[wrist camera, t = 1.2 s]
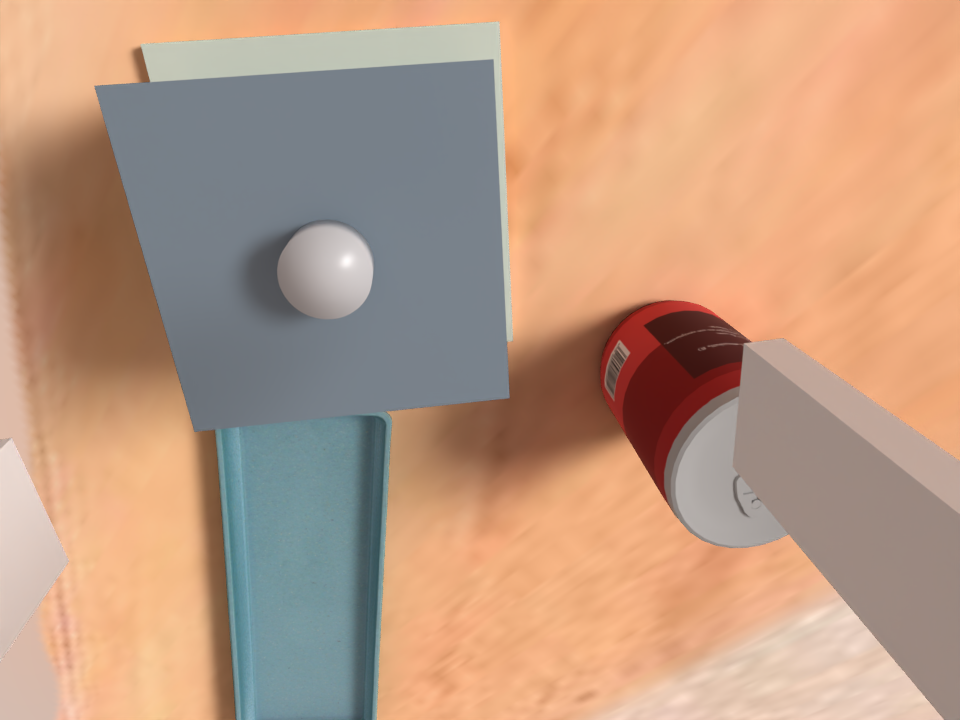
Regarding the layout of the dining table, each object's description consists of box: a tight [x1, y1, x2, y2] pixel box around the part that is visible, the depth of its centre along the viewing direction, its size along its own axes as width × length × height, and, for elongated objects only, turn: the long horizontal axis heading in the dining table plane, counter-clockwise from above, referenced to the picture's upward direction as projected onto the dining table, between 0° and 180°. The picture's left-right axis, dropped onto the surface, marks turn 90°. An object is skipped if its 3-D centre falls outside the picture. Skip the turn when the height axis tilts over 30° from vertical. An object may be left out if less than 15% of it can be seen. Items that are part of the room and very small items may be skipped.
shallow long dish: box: [215, 412, 392, 720], centre depth 39 cm, size 26×9×2 cm, turn 174°
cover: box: [94, 59, 510, 432], centre depth 25 cm, size 12×12×10 cm
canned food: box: [600, 301, 788, 548], centre depth 31 cm, size 8×8×11 cm
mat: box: [141, 22, 513, 342], centre depth 30 cm, size 15×15×1 cm
